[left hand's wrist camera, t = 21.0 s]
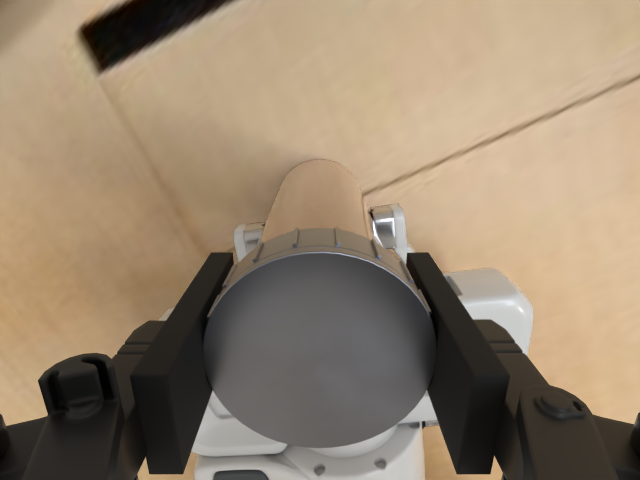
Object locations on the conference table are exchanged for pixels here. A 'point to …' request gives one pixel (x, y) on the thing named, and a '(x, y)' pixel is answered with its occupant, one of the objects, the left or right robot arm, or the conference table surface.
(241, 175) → the conference table surface
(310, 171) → the jar
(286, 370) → the lid
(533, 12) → the conference table surface
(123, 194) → the conference table surface
